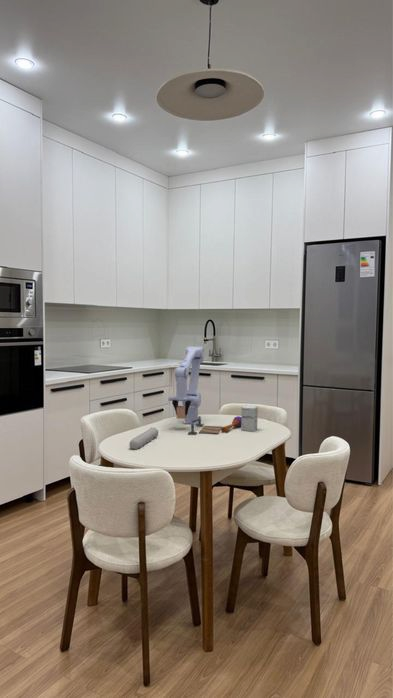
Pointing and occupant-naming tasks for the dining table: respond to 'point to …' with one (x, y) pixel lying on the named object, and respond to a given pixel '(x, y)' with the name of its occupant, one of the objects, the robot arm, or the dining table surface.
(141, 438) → the tube
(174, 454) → the dining table surface
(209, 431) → the walnut board
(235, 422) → the kendama
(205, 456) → the dining table surface
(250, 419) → the supplement box
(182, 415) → the block
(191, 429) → the grey door handle
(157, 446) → the dining table surface
